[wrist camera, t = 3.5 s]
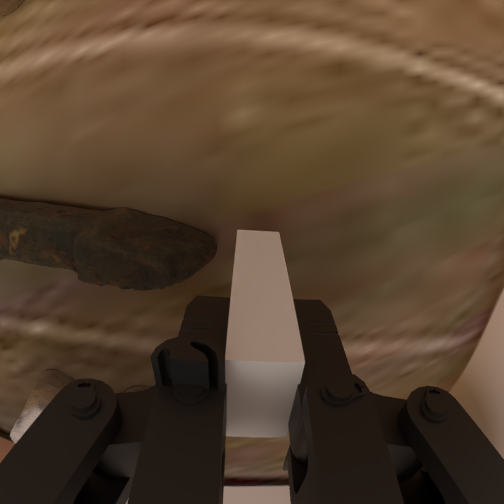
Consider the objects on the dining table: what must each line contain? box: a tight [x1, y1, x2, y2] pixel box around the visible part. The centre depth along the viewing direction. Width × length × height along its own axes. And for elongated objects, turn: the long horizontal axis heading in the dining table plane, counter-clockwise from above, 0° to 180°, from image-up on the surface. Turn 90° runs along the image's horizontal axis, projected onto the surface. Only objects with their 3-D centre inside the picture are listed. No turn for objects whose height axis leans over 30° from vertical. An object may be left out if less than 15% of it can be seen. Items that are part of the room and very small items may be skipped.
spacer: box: [10, 369, 74, 444], centre depth 19 cm, size 4×4×7 cm
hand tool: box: [0, 198, 217, 290], centre depth 14 cm, size 19×4×5 cm, turn 80°
